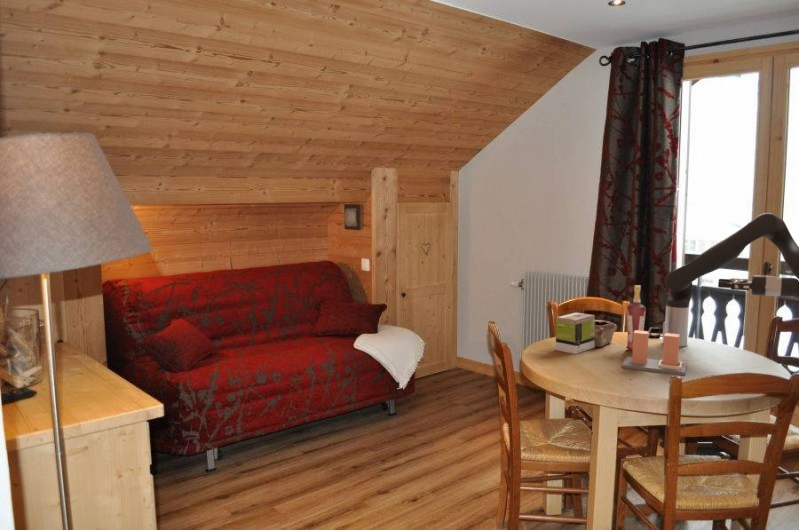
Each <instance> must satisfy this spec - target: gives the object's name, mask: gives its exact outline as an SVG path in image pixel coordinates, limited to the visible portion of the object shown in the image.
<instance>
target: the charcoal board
mask: <svg viewBox="0 0 799 530" xmlns="http://www.w3.org/2000/svg"><path fill="white" fill-rule="evenodd" d="M648 336H649V330H648V331H647V330H644V331H639V330H635V331H634V333H633V352H632V356H629V355H628V356H626V358H625V359H624V360H623V363H622V364H621V366H622V369H628V370H636V371H645V372H651V373H652V372H653V373H660V374H661V373H662V374H667V375H668V374H669V375H670V374H671V375H679V376H683V377H684V376H686V373H687V367H688V363H687V362H683V361H678V366H671V365H663V359H654V358H648V356H649V355H648V354H649V353H648V352H649V338H648Z"/></svg>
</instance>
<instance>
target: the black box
mask: <svg viewBox="0 0 799 530" xmlns="http://www.w3.org/2000/svg"><path fill="white" fill-rule="evenodd" d="M648 331H649V336H648V339H660V340H661V339H662V340H663V335H661V328H660V327H657V326H655V327H653V326H650V327H649V329H648ZM654 333H655V334H654Z"/></svg>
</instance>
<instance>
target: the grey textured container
mask: <svg viewBox="0 0 799 530" xmlns="http://www.w3.org/2000/svg"><path fill="white" fill-rule="evenodd" d="M617 329H618V327H617V324H615V322H611V321H608V320H602V319H595V339H594V340H595V347H599V348H601V347H603V346H605V345H607V344H609V343H611V342H612V340H613V336H614V335H615V334H614V333H615V332H616V331H617Z"/></svg>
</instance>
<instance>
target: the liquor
mask: <svg viewBox="0 0 799 530" xmlns="http://www.w3.org/2000/svg"><path fill="white" fill-rule="evenodd" d="M641 290H642V285H640V284H639V285H637V284H636V285H633V292H634V294H633V300H632V303H631V304H628V305H627V307H626V308H627V312H626V314H627V315H626V316H627V317H626V318H627V320H626V321H627V322H626V323H627V343H626V347H625V348H626V349H627V350H628V351H629V352H631V353H633V333H634V331H635V330H639V331H645V329H644V328H645V321H646V311H647V310H646V309H647V307H646V306H645V305H643V304H641Z"/></svg>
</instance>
